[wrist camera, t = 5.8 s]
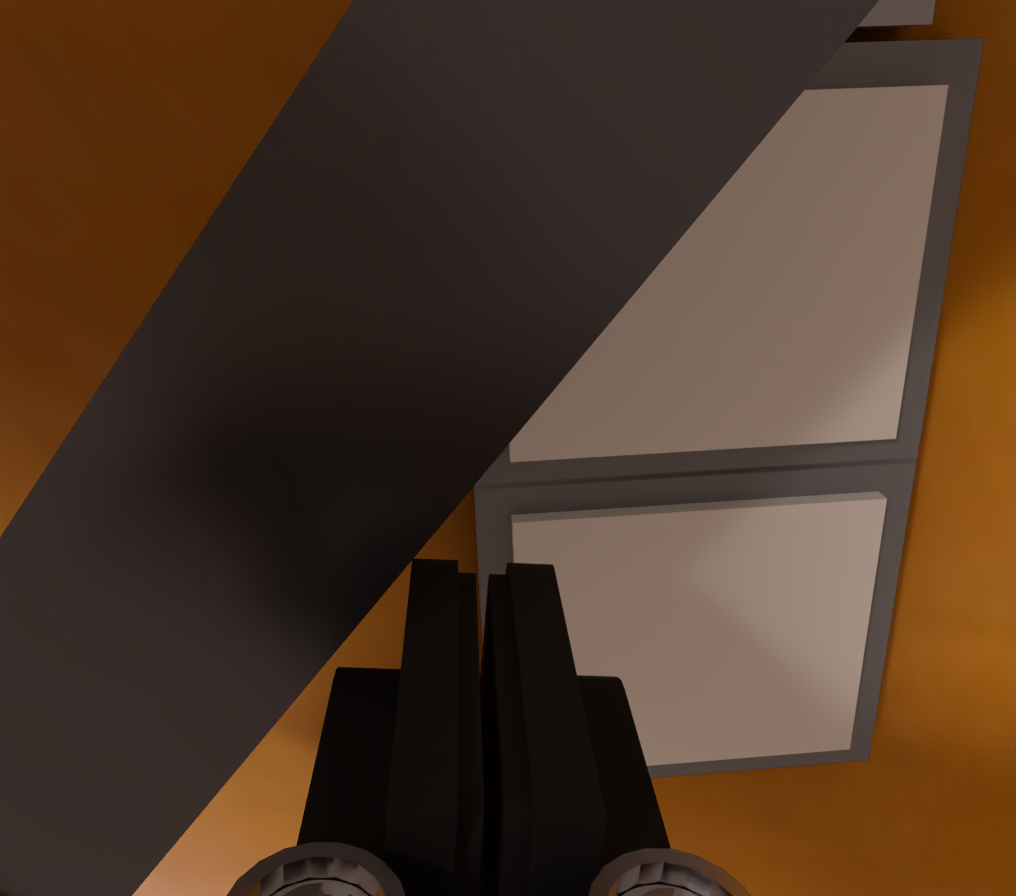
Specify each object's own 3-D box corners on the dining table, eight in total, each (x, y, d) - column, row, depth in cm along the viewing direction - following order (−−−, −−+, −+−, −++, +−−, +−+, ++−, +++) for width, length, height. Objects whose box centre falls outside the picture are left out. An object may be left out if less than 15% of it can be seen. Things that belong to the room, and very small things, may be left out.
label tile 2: (472, 470, 15) (474, 498, 14) (450, 57, 13) (451, 54, 12) (893, 445, 16) (925, 469, 15) (953, 41, 13) (997, 36, 12)
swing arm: (924, -940, 6) (1174, -1473, 4) (1233, -446, 7) (1551, -663, 5) (-187, 780, 11) (-335, 941, 9) (109, 909, 12) (40, 1078, 10)
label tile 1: (488, 761, 18) (491, 803, 17) (472, 465, 15) (474, 492, 14) (851, 733, 18) (875, 770, 17) (894, 440, 15) (926, 464, 14)
